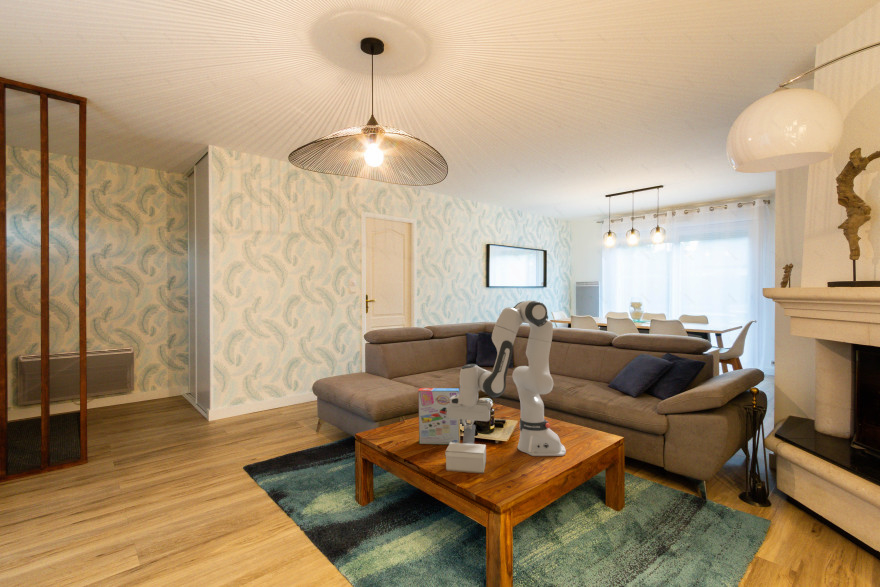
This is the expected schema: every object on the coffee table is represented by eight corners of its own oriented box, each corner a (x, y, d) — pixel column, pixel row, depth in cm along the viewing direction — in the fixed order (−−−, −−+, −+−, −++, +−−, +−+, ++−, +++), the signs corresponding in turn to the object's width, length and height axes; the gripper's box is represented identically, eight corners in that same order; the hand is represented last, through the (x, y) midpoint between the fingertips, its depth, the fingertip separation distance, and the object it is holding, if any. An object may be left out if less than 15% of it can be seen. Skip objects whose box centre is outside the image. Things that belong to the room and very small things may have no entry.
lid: (487, 444, 190) (487, 425, 191) (483, 458, 170) (483, 437, 170) (453, 442, 193) (453, 423, 194) (445, 456, 173) (445, 434, 174)
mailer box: (485, 461, 182) (485, 446, 182) (483, 473, 171) (483, 456, 171) (450, 459, 186) (450, 443, 186) (446, 470, 174) (446, 454, 174)
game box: (460, 441, 208) (459, 388, 207) (459, 445, 202) (459, 390, 202) (420, 440, 210) (419, 387, 210) (418, 444, 204) (417, 390, 204)
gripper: (491, 399, 191) (490, 428, 191) (448, 396, 195) (447, 425, 194) (490, 402, 184) (489, 433, 184) (446, 399, 188) (445, 429, 188)
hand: (468, 428), depth 189 cm, fingers closed, pressing on lid
